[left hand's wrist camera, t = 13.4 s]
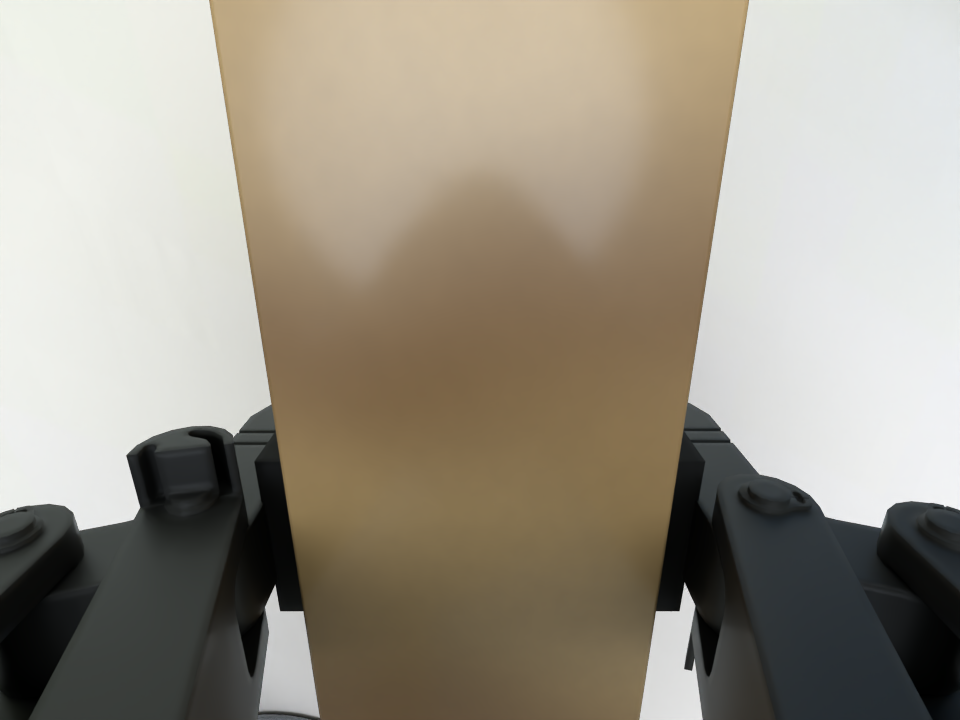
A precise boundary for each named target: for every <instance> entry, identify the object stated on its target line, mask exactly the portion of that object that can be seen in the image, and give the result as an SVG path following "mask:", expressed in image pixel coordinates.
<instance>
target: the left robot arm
mask: <svg viewBox="0 0 960 720" xmlns="http://www.w3.org/2000/svg"><path fill="white" fill-rule="evenodd" d="M126 456H127V460H128V463H129V467H130V471H131V474H132V478H133V482H134V486H135V489H136V493H137V497H138V500H139V504H140V509H139V511H138V513H137V515H136V517H135V519H134V520H131V521H127V522H123V523H118V524H113V525H107V526H102V527H97V528H92V529H86V530H81V531H79V529H78V526H77V523H76V520H75V517H74V514H73V512H72V511H70V510H69V509H68V508H66V507H65V506H59V505H52V504H45V505H35V506H24V507H20V508H17V509H16V510H14V509H12V510H9V511H5V512H2V513H0V720H311V719H307V718H302V717H296V716H289V715H276V714H264V715H258V711H259V703H260V695H261V688H262V680H263V673H264V665H265V658H266V650H267V642H268V635H269V630H268V623H267V617H266V611H265V606H266V603H267V601H268V599H269V597H270V595H271V593H272V590H273V588H274V586H275V584H276V590H277V595H278V601H279V607H280V611H303V604H302V598H301V591H300V585H299V578H298V572H297V565H296V559H295V552H294V546H293V539H292V533H291V527H290V520H289V514H288V507H287V501H286V494H285V488H284V481H283V475H282V468H281V462H280V455H279V449H278V442H277V436H276V429H275V423H274V416H273V410H272V405H270V406H268V407H266V408H265V409H263V410H261V411H260V412H258V413H256V414H255V415H253V416H251V417H250V418H249V420H248V421H247V422H246V423H245V424H244V426H243V427H242V428H241V429H240V430H239V433H237V434H236V435H235V436H234V438H233V435H232V434H231V433H229V432H228V431H226V430H225V429H222V428H217V427H212V426H192V427H186V428H181V429H175V430H171V431H168V432H165V433H162V434H159V435H156V436H153V437H151V438H150V439H148V440H146V441H144V442H142V443H140V444H139V445H137V446H136V447H135V448H134V449H133V450H131V451H130V452H129V453H128V454H127V455H126ZM684 582H685V584H686V586H687V588H688V590H689V592H690V595H691V597H692V599H693V601H694V603H695V605H696V606H695V611H694V617H693V622H692V627H691V633H690V638H689V643H688V649H687V654H686V660H685V667H684V669H686V670H691V671H692V668H693V663H694V659H695V664H696V671H697V679H698V687H699V694H700V702H701V709H702V717H703V720H960V510H958V509H955V508H951V507H948V506H946V507H944V505H940V504H935V503H923V502H913V501H910V502H903V503H896V504H895V505H893V506H892V507H891V508H889V509H888V510H887V513H886V516H885V519H884V522H883V525H882V528H877V527H871V526H866V525H861V524H856V523H850V522H845V521H840V520H835V519H831V518H827V517H825V516H824V514H823V512H822V510H821V508H820V507H819V505H818V504H817V503H816V502H815V501H814V500H813V498H812V497H811V496H810V495H808V494H807V493H805V492H804V491H802V490H801V489H799V488H798V487H796V486H794V485H792V484H789V483H787V482H784V481H782V480H779V479H777V478H773V477H768V476H763V475H759V474H758V473H757V471H756V470H755V469H754V468H753V467H752V465H751V464H750V463H749V462H748V461H747V459H746V458H745V457H744V456H743V455H742V453H741V452H740V451H739V450H738V449H737V447H736V446H735V445H734V444H733V443H730V439H729V438H728V437H727V435H726V434H725V433H724V432H723V431H721V428H720V427H719V426H718V425H717V424H716V422H715V421H714V420H713V419H712V418H711V416H710V415H709V414H707V413H705V412H704V411H702V410H700V409H699V408H697V407H695V406H693V405H692V404H690V403H687V410H686V416H685V423H684V429H683V436H682V443H681V449H680V456H679V462H678V469H677V475H676V482H675V488H674V495H673V502H672V508H671V515H670V521H669V528H668V534H667V541H666V547H665V554H664V561H663V567H662V574H661V580H660V587H659V593H658V600H657V606H656V611H680V605H681V599H682V593H683V588H684Z"/></svg>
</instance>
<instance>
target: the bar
mask: <svg viewBox="0 0 960 720" xmlns="http://www.w3.org/2000/svg"><path fill="white" fill-rule="evenodd" d="M209 2H210V8H211V15H212V21H213V28H214V34H215V40H216V47H217V53H218V60H219V66H220V73H221V79H222V86H223V92H224V99H225V105H226V112H227V118H228V125H229V131H230V138H231V144H232V151H233V157H234V164H235V170H236V177H237V183H238V190H239V196H240V202H241V209H242V215H243V222H244V228H245V235H246V241H247V248H248V254H249V261H250V267H251V274H252V280H253V287H254V293H255V300H256V306H257V313H258V319H259V326H260V332H261V339H262V345H263V352H264V358H265V364H266V371H267V377H268V384H269V390H270V397H271V403H272V410H273V416H274V423H275V429H276V436H277V442H278V449H279V455H280V462H281V468H282V475H283V481H284V488H285V494H286V501H287V507H288V514H289V520H290V527H291V533H292V539H293V546H294V552H295V559H296V565H297V572H298V578H299V585H300V591H301V598H302V604H303V611H304V617H305V624H306V630H307V637H308V643H309V650H310V656H311V663H312V669H313V676H314V682H315V689H316V695H317V701H318V708H319V714H320V720H639V718H640V711H641V705H642V698H643V692H644V685H645V679H646V672H647V665H648V659H649V652H650V646H651V639H652V633H653V626H654V620H655V613H656V606H657V600H658V593H659V587H660V580H661V574H662V567H663V561H664V554H665V547H666V541H667V534H668V528H669V521H670V515H671V508H672V502H673V495H674V488H675V482H676V475H677V469H678V462H679V456H680V449H681V443H682V436H683V429H684V423H685V416H686V410H687V403H688V397H689V390H690V384H691V377H692V371H693V364H694V357H695V351H696V344H697V338H698V331H699V325H700V318H701V312H702V305H703V298H704V292H705V285H706V279H707V272H708V266H709V259H710V253H711V246H712V239H713V233H714V226H715V220H716V213H717V207H718V200H719V194H720V187H721V180H722V174H723V167H724V161H725V154H726V148H727V141H728V135H729V128H730V121H731V115H732V108H733V102H734V95H735V89H736V82H737V76H738V69H739V62H740V56H741V49H742V43H743V36H744V30H745V23H746V17H747V10H748V3H749V0H209Z"/></svg>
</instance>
